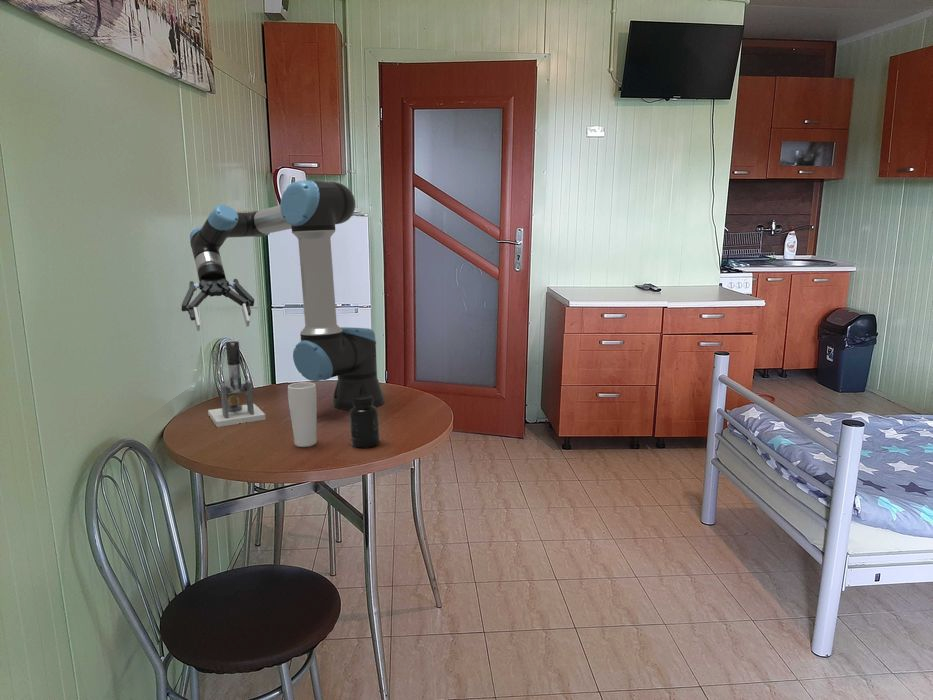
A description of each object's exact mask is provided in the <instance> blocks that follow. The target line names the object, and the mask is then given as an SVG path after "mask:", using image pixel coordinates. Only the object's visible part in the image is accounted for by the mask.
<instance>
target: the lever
mask: <svg viewBox="0 0 933 700" xmlns="http://www.w3.org/2000/svg"><path fill="white" fill-rule="evenodd" d="M225 350H226V352H225V353H226V363H227V365H228V376H229V377H228V378H229V380H225V381H224V385H225V386H226V392H227V395H228V394H236V393H243V392H246V391H247V387H246V383H245V382H244V383H242V374H241V355H240V354H241V351H240V343H239V341H235V340H233V341H231V340H230V341H227V342H225Z"/></svg>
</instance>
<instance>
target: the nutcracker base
mask: <svg viewBox="0 0 933 700" xmlns="http://www.w3.org/2000/svg"><path fill="white" fill-rule="evenodd" d="M245 383H246V387H247V391H245V392H246V396H245V397H246V404H243V405H242V404H239V403H240V399H239V396H237V395H230V396H229V397H228V396H227V395H228V394H227V392H226V386H225V383H221V382H220V383H219V387H220V388H219V389H220V397H221V398H220V399H221V408H214V409H208V410H207V415H208V416H210V417H209V419H210V420H211V421H212V422H213V424H214V425H215V426H216V427H217V428H221V427H226V426H227V427H228V426H233V425H239V423H241V424H246V422H247V423H252V422H253V423H254V422H258V421H259V422H260V421H266V419H267V418H266V413H265V412H263V410H261V409H260V408H259V407H258V405H256V404H255V403H254V397H253V385H252V384H253V383H252V382H251V381H250V380H249V379H246V380H244V384H245Z"/></svg>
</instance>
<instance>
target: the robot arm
mask: <svg viewBox="0 0 933 700" xmlns="http://www.w3.org/2000/svg"><path fill="white" fill-rule="evenodd" d="M355 210H356V199H355V195H354V194H353V192H352V191H351V190H350V189H349V187H347V186H346V185H344V184H343V183H340V182H335V181H320V180H311V179H309V180H308V179H306V180H297V181H293V182H291V183H290V184H289V185H287V187H286V188H285V190H284V191H283V192H282V195H281V199H280V204H279V205H277V206H276V205H275V206H271V207H267V208H262V209H259V210H254V211H251V212H237V211H236V210H235V209H234V208H233V207H231V206H227V204H226V205H225V204H218V205H216V206H215V207H214V208H213V210H212V211H211V212H210V213H209V215H208V216H207V218H206V220H205V222H204V224H203V225H202V226H198V227H196V228H195V229H193V230H192V231H191V232H190V234H189V240H190V241H189V242H190V243H189V244H190V248H191V251H192V255H193V259H194V263H195V268H196V272H197V277H198V281H199V282H198V283H196V282H194V281H192V280H191V281H189V284H188V285H189V286H188V290H187V292H186V294H185V296H184V298H183V300H182V303H181V308H180V309H181V311H182V312H188V315H189V318H190V321H194V323H195V329H196V331H197V332H200V331H201V322H200V318H199V312H198V309H197V308H198V307H199V305H200V304H201V303H202V302H203V301H204V300H206V298H208V297H215V296H216V297H221V296H224V297H225V298H229V299H230V300H232V301H233V302H235V303H236V304H238V305H240V306H241V312H242V315H243V319H244V323H245V326H246V328H247V327H250V322H251V319H250V316H251V314H252V309H251V307H254V305H255V299H254V297H253V296H252V295H251V294H250V293H249V292H248V290H246V289H245V288H244V287H243V286H242V285H241V284H240V282H239V280H238V278H234V279H233V281H232V280H231V281H228V280H227V278H226V277H227V276H226V273H225V270H224V266H223V263H222V257H221V253H220V249H221V247H222V246H223V244H224V242H225V241H226V240H227V239H228V238H245V237H246V238H247V237H248V238H249V237H251V238H252V237H253V238H255V237H256V238H260V237H266V236H269V235H270V234H271V233H272V234H273V233H277V232H282V231H286V230H291V234H293V235H294V236H295V237H296V238H297V239H298V240H297V241H298V243H297V244H298V253H299V254H298V255H299V265H300V276H301V277H300V278H301V279H300V280H301V289H302V290H301V291H302V301H303V302H302V303H303V313H304V314H303V315H304V325H305V326H304V327H303V328H302V330H301V331H300V333H299V334H300V340H299V342H298V343H297V344H296V345H295V347H294V349H293V351H292V359H293V363H294V365H295V368H296V370H297V371H298V373H300V374H301V376H302V377H303V378H305V379H306V380H309V381H311V382H318V381H326V380H329V379H330V378H335V377H337V382H336V385H335V388H334V392H333V396H332V403H333V404H332V405H333V407H334V408H336V409H340V410H341V409H342V410H351V409H352V408H353V407H354V406H353V397H354V396H357V395H371V396H372V397H373V404H372V405H373V406H374V407H376V408H377V407H380V406H381V404H382V405H383V404H384V403H385V396H384V392H383V389H382V387H381V384H380V382H379V379H378V369H377V340H376V334H375V331H374V330H373V329H371V328H366V327H346V326H345V327H343V326H342V327H340V325H338V324H337V311H336V310H337V309H336V297H335V294H336V293H335V284H334V283H335V282H334V269H333V268H334V267H333V255H332V243H331V242H332V241H331V238H332V236H333V235H334V233H335V232H336V225H339V224H343V223H346V222H348V221H349V220H350V219H351V217H352V216H353V215H354V213H355ZM197 289H199V293H198V294H197V295H196V297H195V298H194V299H192V298H193V296H194V293H195V292H196V291H197Z"/></svg>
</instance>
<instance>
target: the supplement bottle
mask: <svg viewBox="0 0 933 700" xmlns="http://www.w3.org/2000/svg"><path fill="white" fill-rule="evenodd" d="M372 404H373V397H372V396H371V395H357V396H354V397H353V406H354V407H353V408H352V409H351V410H350V411H349V421H350V422H349V425H350V426H349V427H350V437H351V439H350V440H351V445H352V446H353V447H355V448H358V449H367V448H373V447H376V446H377V445H379V444H380V428H379V425H380V424H379V411H378V409H377V407H374V406H373V405H372Z"/></svg>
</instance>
